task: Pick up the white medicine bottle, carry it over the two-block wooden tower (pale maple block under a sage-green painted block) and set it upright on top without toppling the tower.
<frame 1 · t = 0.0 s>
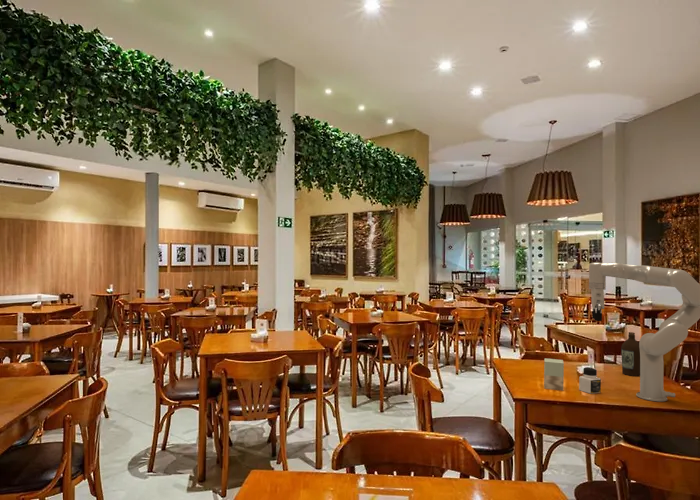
hand: (597, 319, 231), 37 cm above the table, tool pointing down, fingers open, 9 cm apart
top block: (553, 374, 237), point 7 cm above the table, touching bottom block
olive oil: (631, 374, 269), on the table
medicine bottle: (589, 391, 231), on the table
bottom block: (553, 387, 237), on the table, touching top block
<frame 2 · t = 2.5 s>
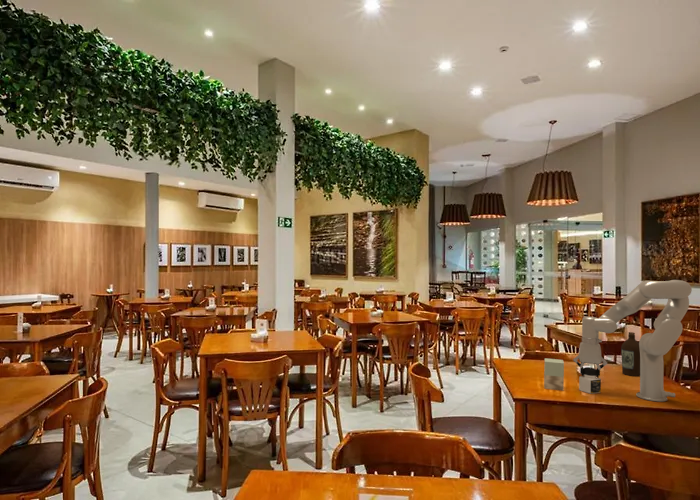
hand: (589, 375, 231), 8 cm above the table, tool pointing down, fingers closed on medicine bottle, 6 cm apart
medicine bottle: (589, 391, 231), on the table, touching gripper
everything else where it was.
when the fingers open (23 cm above the table, at t = 8.0 s): medicine bottle drops 1 cm, resting on top block.
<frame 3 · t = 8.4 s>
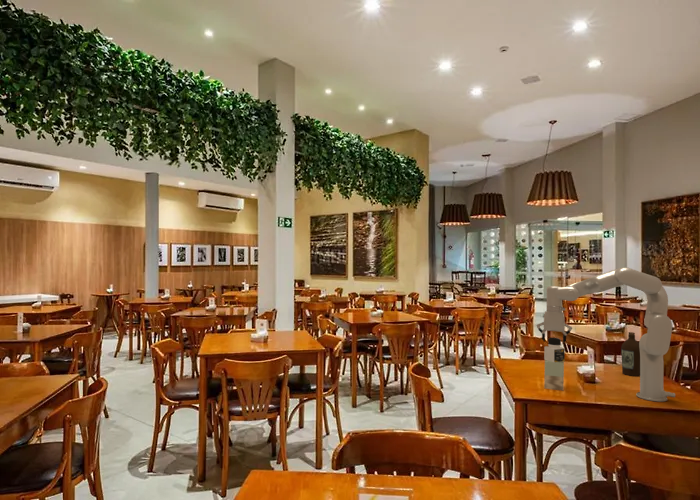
hand: (553, 341, 238), 24 cm above the table, tool pointing down, fingers open, 9 cm apart
top block: (554, 374, 237), point 7 cm above the table, touching bottom block, medicine bottle
medicine bottle: (554, 361, 238), point 14 cm above the table, touching top block
everything else where it was.
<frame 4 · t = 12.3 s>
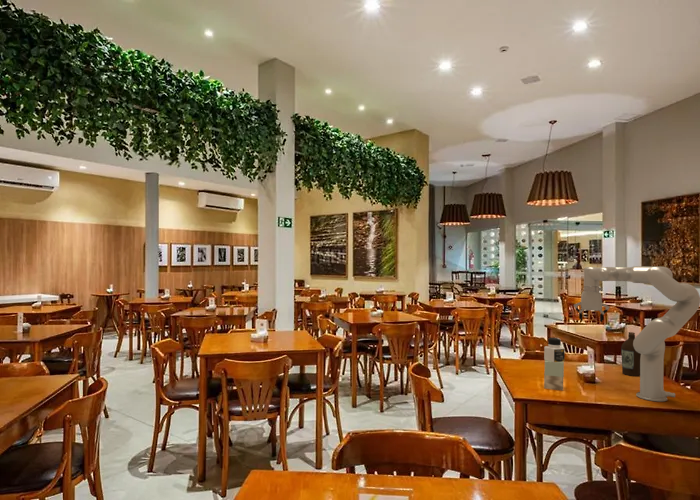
hand: (591, 321, 246), 34 cm above the table, tool pointing down, fingers open, 9 cm apart
nothing on the table moved.
at the end: medicine bottle 0.1 cm off-centre on the top block, point 6.8 cm above the top block's base; medicine bottle tilted 0°; top block moved 0.2 cm from its start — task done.
